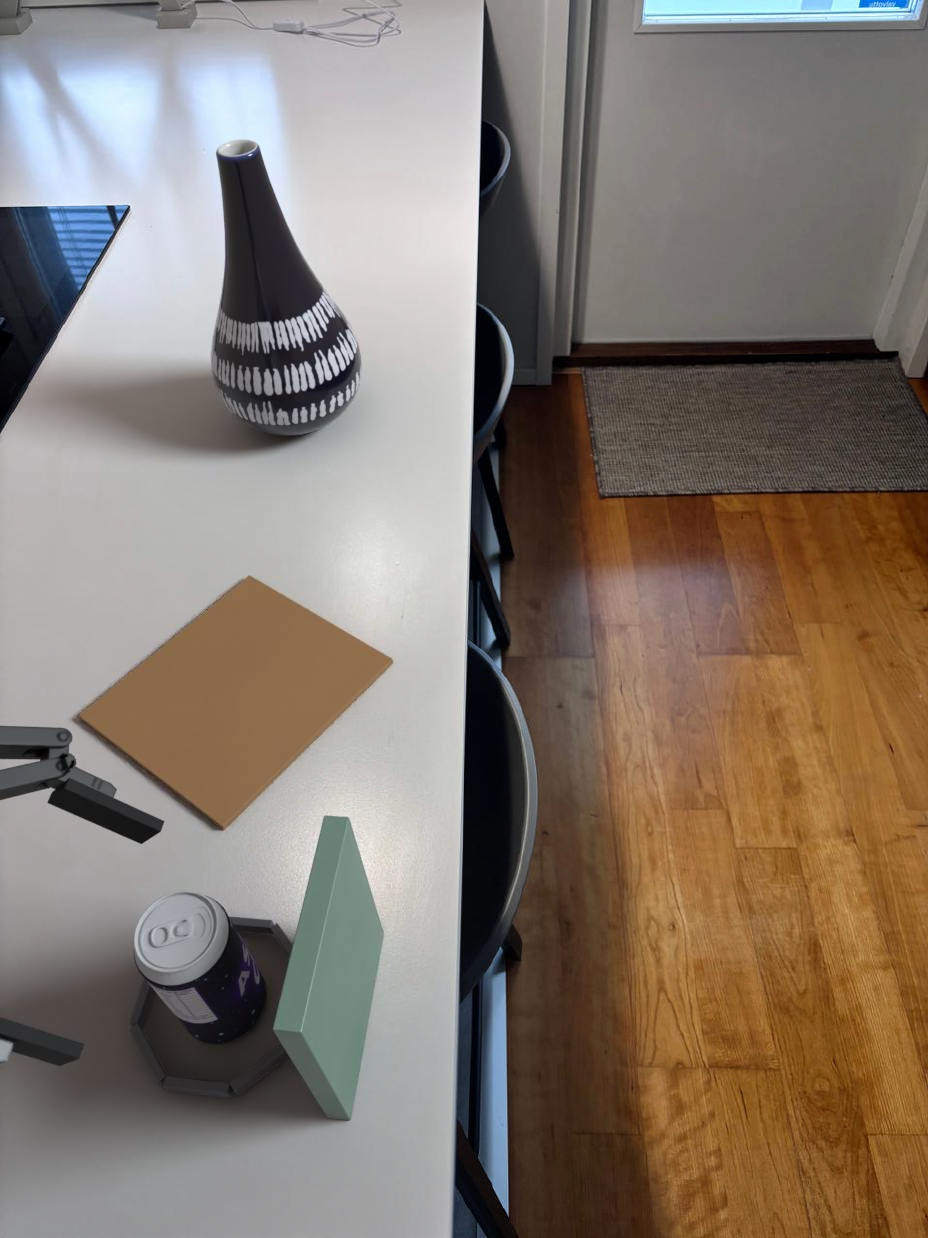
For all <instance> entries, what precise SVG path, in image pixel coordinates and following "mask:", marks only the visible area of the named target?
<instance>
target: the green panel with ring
mask: <svg viewBox="0 0 928 1238" xmlns="http://www.w3.org/2000/svg"><path fill="white" fill-rule="evenodd" d="M320 827H321V828H320V832H319V835H318V839H317V843H316V848H315V852H314V856H313V860H312V864H311V868H310V871H309V872H310V873H309V875H308V876H309V877H308V879H307V880H308V881H307V884H306V889H305V892H304V897H303V902H302V907H301V908H300V909H301V910H300V914H299V918H298V922H297V926H296V931H295V935H294V939H293V943H292V941H291V940H290V939H289V937H288V936H287V934H286V933H285V931H284V930H283V929H282V927H281V926H280V924H279V923H278V922H277V923H275V922H274V921H273V920H272V919H263V918H262V919H261V918H251V917H239V916H229V915H228V916H229V918H230V919H231V921H232V923H233V925H234V926H235V928H236V930H237V932H238V933H247V934H248V933H249V934H259V935H269V936H270V935H271V936H273V937H274V938H275V939H276V941H277V943H278V944H279V945H280V947H281V949H282V950H283V951H284V952H285V954H286V955H287V957H288V964H287V968H286V972H285V975H284V980H283V985H282V988H281V992H280V996H279V1000H278V1004H277V1009H276V1013H275V1017H274V1022H273V1025H272V1032H273V1033H274V1034H275V1036H276V1037H277V1039H278V1041H279V1042H280V1044H278V1045H277V1046H276V1047H274V1048H273V1049H272V1050H271V1051H270V1052H268V1053H267V1054H266V1055H264V1056H262V1057H261V1058H260V1059H259V1060H258V1061H257V1062H255V1063H254V1064H253V1065H251V1066H250V1067H249V1068H247V1069H246V1070H245V1071H244V1072H242V1073H241V1074H240V1075H239V1076H237V1077H235V1079H233V1080H232V1081H231V1082H222V1081H215V1080H207V1079H206V1080H204V1079H198V1078H197V1079H196V1078H187V1077H178V1076H170V1075H169V1074H168V1072H167V1070H166V1069H165V1067H164V1065H163V1063H162V1061H161V1060H160V1057H159V1056H158V1054H157V1052H156V1049H155V1048H154V1046H153V1045H152V1043H151V1040H150V1039H149V1037H148V1036H147V1034H146V1032H145V1030H144V1028H145V1025H146V1022H147V1018H148V1015H149V1013H150V1010H151V1006H152V1003H153V1002H154V1001H153V1000H154V997H155V994H156V992H155V990H154V989H153V988H152V987H151V986H150V984H149V983H148V982H147V981H146V980H145V978H144V977H143V980H142V983H141V986H140V989H139V992H138V996H137V998H136V1001H135V1004H134V1007H133V1010H132V1012H131V1016H130V1019H129V1022H128V1023H129V1024H130V1025H131V1026H132V1027H130V1028H129V1031H130V1034H131V1035H132V1037H133V1039H134V1041H135V1043H136V1045H137V1047H138V1048H139V1050H140V1053H141V1055H142V1056H143V1059H144V1060H145V1062H146V1064H147V1065H148V1067H149V1069H150V1071H151V1073H152V1075H153V1077H154V1079H155V1081H156V1082H157V1084H159V1085H160V1087H162V1088H165V1090H167V1091H168V1092H171V1093H180V1094H189V1095H198V1096H207V1097H215V1098H223V1099H232V1098H233V1095H234V1093H235V1094H236V1095H237V1097H238V1096H239V1097H240V1096H241V1095H242V1094H243V1093H245V1092H246V1091H247V1090H249V1089H250V1088H252V1086H254V1085H255V1084H256V1083H258V1082H259V1081H260V1080H262V1078H264V1077H265V1076H267V1075H268V1074H269V1073H270V1072H271V1071H273V1070H274V1069H275V1068H276V1067H278V1066H280V1064H282V1063H283V1062H284V1061H285V1060H287V1059H288V1058H290V1060H291V1062H292V1063H293V1065H294V1066H295V1068H296V1070H297V1071H298V1073H299V1074H300V1076H301V1077H302V1079H303V1081H304V1083H305V1084H306V1086H307V1087H308V1089H309V1091H310V1092H311V1094H312V1095H313V1096H314V1098H315V1101H316V1102H317V1104H318V1105H319V1107H320V1108H321V1109H322V1111H323V1113H324V1114H325V1116H326V1118H328V1119H334V1120H344V1121H351V1120H352V1116H353V1109H354V1103H355V1098H356V1093H357V1087H358V1081H359V1076H360V1071H361V1064H362V1058H363V1053H364V1048H365V1042H366V1037H367V1033H368V1032H367V1031H368V1026H369V1020H370V1015H371V1009H372V1005H373V1004H372V1002H373V999H374V993H375V987H376V981H377V975H378V970H379V963H380V959H381V952H382V947H383V941H384V937H385V936H384V935H385V932H384V929H383V928H384V927H383V925H382V922H381V919H380V915H379V912H378V909H377V905H376V902H375V898H374V895H373V892H372V889H371V886H370V882H369V879H368V875H367V872H366V868H365V865H364V862H363V859H362V855H361V852H360V849H359V846H358V842H357V839H356V836H355V833H354V830H353V826H352V823H351V818H350V817H349V816H340V815H324V816H323V819H322V823H321V826H320Z"/></svg>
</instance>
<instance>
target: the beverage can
mask: <svg viewBox="0 0 928 1238" xmlns="http://www.w3.org/2000/svg"><path fill="white" fill-rule="evenodd" d="M133 959H134V964H135V966H136V968H137V970H138V972H139V973H140V975H141V976H142V977H143V979H144V978H145V980H146V981H147V982H148V983H149V984H150V986H151V987H152V988H153V989H154V990H155V994H157V995H158V997H159V998H160V999H161V1000H162V1001H163V1003H164V1005H166V1006H167V1007H168V1009H169V1010H170V1012H172V1013H173V1015H174V1016H175V1018H176V1019H177V1020H178V1021H179V1022H180V1023H181V1025H182V1026H183V1027H184V1028H185V1029H186V1031H187V1032H188V1033H189V1034H190V1035H191V1036H192V1037H193V1038H194V1039H195V1040H197V1041H199V1042H201V1043H204V1044H209V1045H224V1044H229V1043H231V1042H232V1043H233V1042H234V1041H236V1040H239V1039H240V1038H242V1037H244V1036H245V1035H246V1034H247V1033H249V1031H251V1030H252V1029H253V1028H254V1027H255V1025H256V1024H257V1023H258V1022H259V1020H260V1019H261V1017H262V1014H263V1012H264V1010H265V1008H266V1007H265V1006H266V1003H267V999H268V998H267V997H268V991H267V990H268V989H267V983H266V980H265V977H264V975H263V973H262V971H261V970H260V968H259V966H258V964H257V963H256V961H255V960H254V957H253V955H252V954H251V953H250V950H249V949H248V947H247V946H246V943H245V942H244V940H243V939H242V937H241V935H240V932H237V930H236V928H235V926H234V925H233V923H232V921H231V919H230V918H229V914H228V912H227V911H226V909H225V908H224V907H223V906H222V904H221V903H219V902H218V901H217V900H216V899H214V898H212V897H211V896H207V895H205V894H202V893H200V892H196V891H194V890H178V891H173V892H170V893H167V894H165V895H163V896H161V897H159V898H157V899H156V900H155V901H154V902H153V903H151V904H150V905H149V906H148V907H146V909H145V910H144V911H143V913H142V914H141V915H140V917H139V920H138V921H137V923H136V925H135V928H134V933H133Z"/></svg>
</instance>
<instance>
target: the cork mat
mask: <svg viewBox="0 0 928 1238" xmlns="http://www.w3.org/2000/svg"><path fill="white" fill-rule="evenodd" d="M393 664H394V660H393V658H392V657H390V656H389V655H387V654H385V653H383V652H381V650H378V649H376V648H374V647H373V646H371V645H369V644H368V643H366V642H364V641H362V640H361V639H359V638H358V637H356V636H354V635H353V634H350V633H349V632H347V631H346V630H345V629H342V628H340V627H339V626H338V625H335V624H334V623H332V622H331V621H329V620H327V619H325V618H324V617H322V616H320V615H319V614H316V613H315V612H314V611H311V610H310V609H308V608H307V607H304V606H303V605H301V604H299V603H298V602H297V601H294V600H293V599H291V598H290V597H288V596H285V595H284V594H283V593H281V592H279V591H277V590H276V589H274V588H273V587H270V586H269V585H267V584H265V583H264V582H262V581H260V580H259V579H257V578H255V577H254V576H252V575H251V574H249V575H247V576H246V577H245V578H244V579H242V580H241V581H240V582H239V583H238V584H236V585H235V586H234V587H233V588H232V589H230V590H229V591H228V592H227V593H225V594H224V595H223V596H222V597H220V598H219V599H218V600H217V601H216V602H215V603H213V604H212V605H210V607H209V608H207V609H206V610H205V611H203V613H201V614H200V615H199V616H198V617H196V618H195V619H194V620H192V621H191V622H190V623H189V624H188V625H186V626H185V627H184V628H183V629H182V630H180V631H179V632H178V633H176V634H175V635H174V636H173V637H172V638H171V639H169V640H168V641H167V642H166V643H164V644H163V645H161V647H160V648H158V649H157V650H156V651H155V652H153V653H152V654H151V655H150V656H149V657H147V658H146V659H145V660H144V661H143V662H141V663H140V664H138V666H136V667H135V668H134V669H133V670H132V671H130V672H129V673H128V674H127V675H125V677H123V678H122V679H121V680H119V681H118V682H117V683H115V684H114V685H113V686H112V687H111V688H110V689H108V691H106V692H105V693H104V694H103V695H101V696H100V697H98V698H97V699H96V700H95V701H94V702H93V703H92V704H90V705H89V706H87V707H86V709H84V710H82V711H81V712H80V713H79V714H78V718H79V720H80V721H82V722H83V723H84V724H86V725H87V726H88V727H89V728H91V729H92V730H94V731H95V732H96V733H98V735H100V736H101V737H103V738H104V739H105V740H106V741H107V742H109V743H110V744H112V745H113V746H114V747H115V748H117V749H118V750H119V751H120V752H122V754H124V755H126V756H127V757H128V758H130V759H131V760H132V761H134V762H135V763H136V764H137V765H139V766H140V767H141V768H143V769H144V770H145V771H146V772H148V773H149V774H151V776H153V777H154V778H156V779H157V780H158V781H159V782H161V783H162V784H163V785H165V786H166V787H167V788H168V789H170V790H171V791H172V792H174V793H175V794H176V795H177V796H179V797H180V798H181V799H183V800H184V801H185V802H187V803H188V804H189V805H190V806H192V807H193V808H194V809H196V810H197V811H198V812H199V813H201V814H202V815H203V816H205V817H206V818H207V819H209V820H210V821H211V822H213V823H214V824H215V825H216V826H217V827H218V828H220V829H222V830H223V831H225V830H226V829H227V828H228V827H229V826H230V825H231V824H232V823H233V822H234V821H235V820H236V819H237V818H238V817H239V816H240V815H241V814H242V813H243V812H244V811H245V810H246V809H247V808H248V807H249V806H250V805H251V804H252V803H253V802H254V801H256V800H257V798H258V797H259V796H260V795H262V794H263V792H265V790H267V789H268V787H270V785H271V784H273V782H274V781H276V780H277V779H278V777H280V776H281V775H282V774H283V773H284V772H285V771H286V770H287V769H288V768H289V767H291V766H290V765H292V764H293V763H294V762H295V761H296V760H297V759H298V758H300V756H301V755H302V754H303V753H304V752H305V751H306V750H307V749H309V747H310V746H311V745H312V744H313V743H314V742H315V741H316V740H317V739H319V737H320V736H321V735H323V733H324V732H325V731H326V730H327V729H328V728H329V727H331V725H332V724H334V723H335V721H337V719H338V718H340V716H341V715H343V713H345V711H346V710H348V709H349V707H351V705H352V704H354V703H355V702H356V701H357V699H359V698H360V697H361V696H362V695H363V694H364V693H365V692H366V691H367V690H368V689H369V688H370V687H371V686H372V685H373V684H374V683H375V682H376V681H377V680H378V679H379V678H380V677H381V676H382V675H383V674H384V673H385V672H386V671H387V670H388V669H389V668H390V667H391V666H392V665H393Z"/></svg>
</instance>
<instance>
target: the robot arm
mask: <svg viewBox="0 0 928 1238" xmlns="http://www.w3.org/2000/svg"><path fill="white" fill-rule="evenodd" d="M72 742H73V734H72V732H71V731H70V730H69V729H67V728H65V727H56V726H55V727H52V726H51V727H50V726H20V725H19V726H18V725H0V760H34V762H29V763H25V764H19V765H16V766H11V767H6V768H1V769H0V801H3V800H6V799H11V798H15V797H19V796H23V795H27V794H32V793H35V792H38V791H39V792H40V791H44V790H47V789H54V790H53V791H51V793H50V796H49V798H48V800H47V802H46V803H47V804H48V805H51V806H53V807H55V808H58V809H60V810H62V811H65V812H67V813H69V814H72V815H74V816H76V817H78V818H80V819H82V820H84V821H87V822H90V823H92V824H95V825H97V826H99V827H101V828H104V829H105V830H108V831H110V832H112V833H115V834H117V835H119V836H122V837H124V838H127V839H128V840H131V841H133V842H135V843H138V844H140V845H143V844H144V843H146V842H147V841H149V840H150V839H152V838H153V837H155V836H157V835H158V834H159V833H161V832H162V829H163V826H164V823H165V820H163V819H161V818H159V817H156V816H155V815H153V814H150V813H148V812H146V811H143V810H141V809H138V808H137V807H134V806H132V805H130V804H129V803H126V802H124V801H121V800H119V799H117V798H115V795H116V793H117V791H118V789H117V788H116V787H115V786H114V785H113V784H112V782H109V781H107V780H105V779H102V778H100V777H99V776H96V775H94V774H92V773H90V772H87V770H86V771H85V770H83V769H81V768H79V767H77V759H76V757H75V755H73V754H72V753H70V745H71V743H72ZM35 760H36V761H35ZM85 1046H86V1044H85V1043H83V1042H79V1041H77V1040H74V1039H70V1038H67V1037H63V1036H60V1035H58V1034H54V1033H52V1032H48V1031H45V1030H42V1029H40V1028H35V1027H33V1026H30V1025H26V1024H25V1023H24V1024H23V1023H21V1022H17V1021H14V1020H12V1019H8V1018H5V1017H2V1016H0V1065H2V1064H4V1063H6V1062H8V1060H9V1058H10V1055H11V1054H12V1053H15V1054H18V1055H21V1056H25V1057H28V1058H31V1059H35V1060H37V1061H40V1062H44V1063H48V1064H50V1065H54V1066H56V1067H57V1066H58V1067H62V1066H64V1065H68V1064H70V1063H72V1062H75V1061H77V1060H80V1059H81V1056H82V1053H83V1050H84V1047H85Z"/></svg>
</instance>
